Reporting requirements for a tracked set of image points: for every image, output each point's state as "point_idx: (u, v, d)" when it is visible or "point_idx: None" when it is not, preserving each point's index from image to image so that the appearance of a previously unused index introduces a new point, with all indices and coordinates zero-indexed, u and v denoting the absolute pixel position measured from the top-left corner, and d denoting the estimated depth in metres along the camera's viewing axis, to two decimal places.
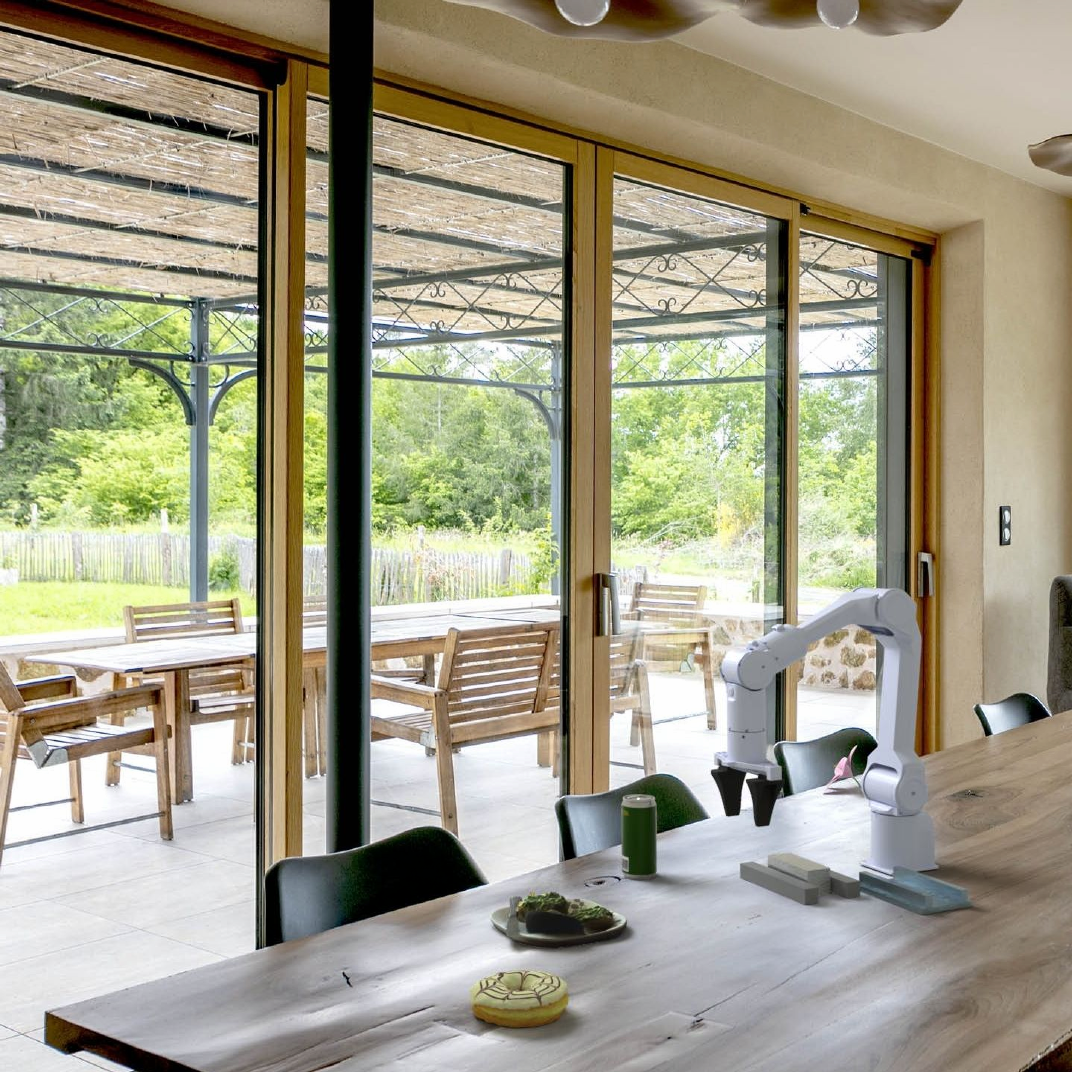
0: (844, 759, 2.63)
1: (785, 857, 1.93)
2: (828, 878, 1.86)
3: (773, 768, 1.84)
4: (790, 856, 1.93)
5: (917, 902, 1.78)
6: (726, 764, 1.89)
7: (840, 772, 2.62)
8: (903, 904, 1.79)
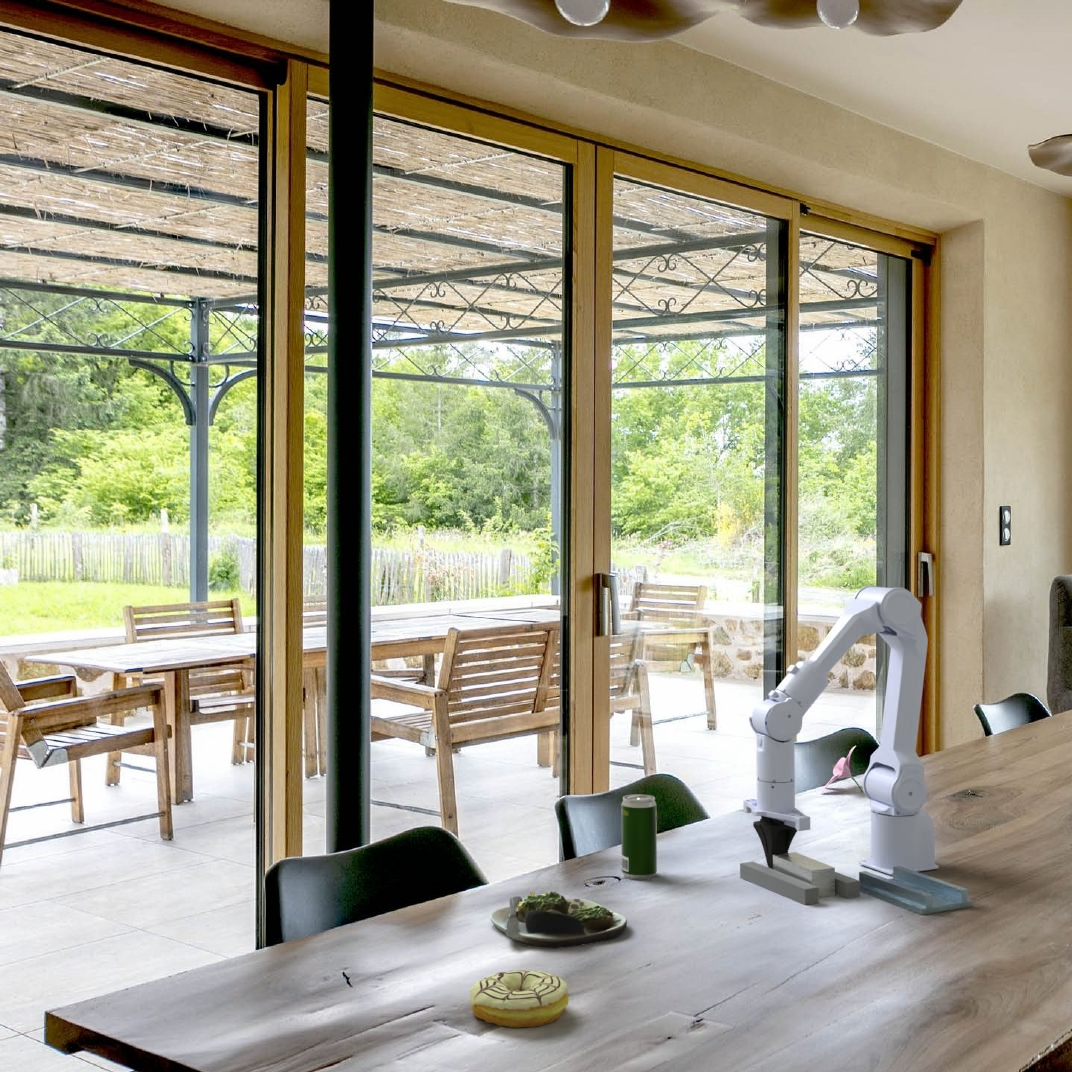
0: (843, 759, 2.63)
1: (790, 857, 1.92)
2: (833, 878, 1.85)
3: (802, 819, 1.88)
4: (795, 856, 1.92)
5: (917, 902, 1.78)
6: (756, 813, 1.93)
7: (839, 772, 2.61)
8: (903, 904, 1.79)
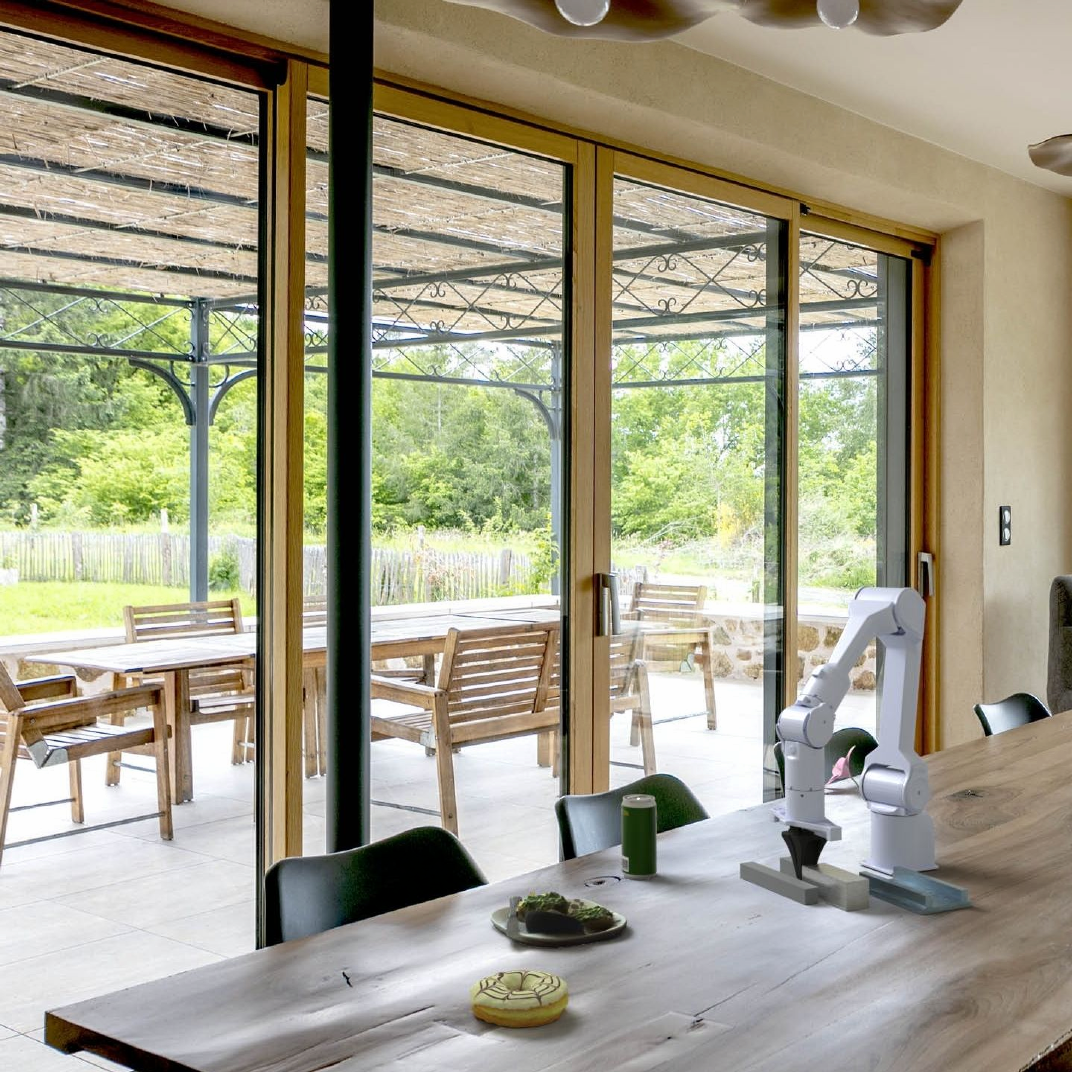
0: (842, 759, 2.63)
1: (820, 867, 1.85)
2: (867, 890, 1.79)
3: (833, 829, 1.82)
4: (825, 866, 1.86)
5: (917, 902, 1.78)
6: (784, 823, 1.86)
7: (838, 772, 2.61)
8: (903, 904, 1.79)
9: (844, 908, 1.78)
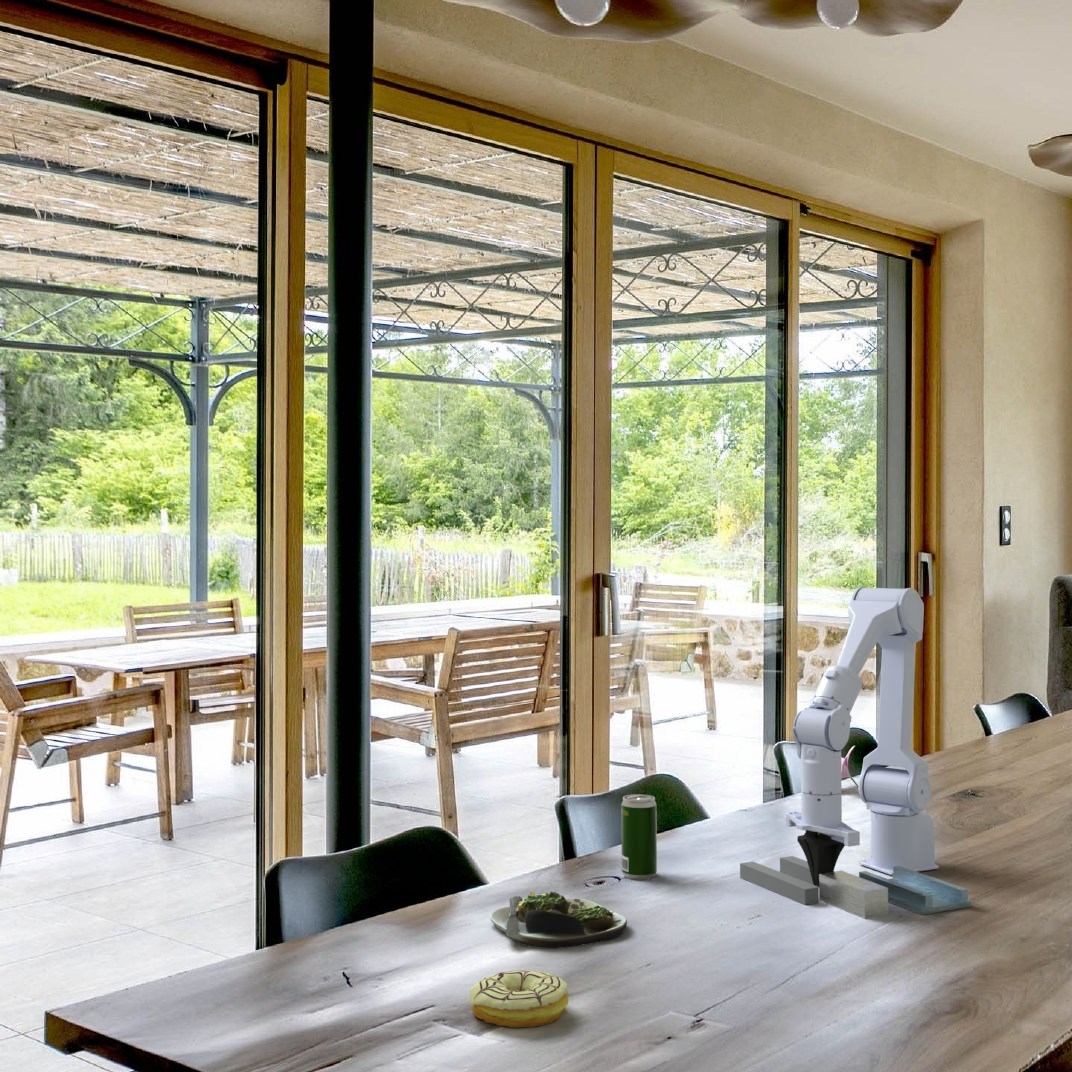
0: (841, 759, 2.63)
1: (838, 876, 1.82)
2: (886, 899, 1.76)
3: (851, 833, 1.78)
4: (843, 875, 1.83)
5: (917, 902, 1.78)
6: (801, 828, 1.83)
7: None
8: (903, 904, 1.79)
9: (862, 917, 1.75)
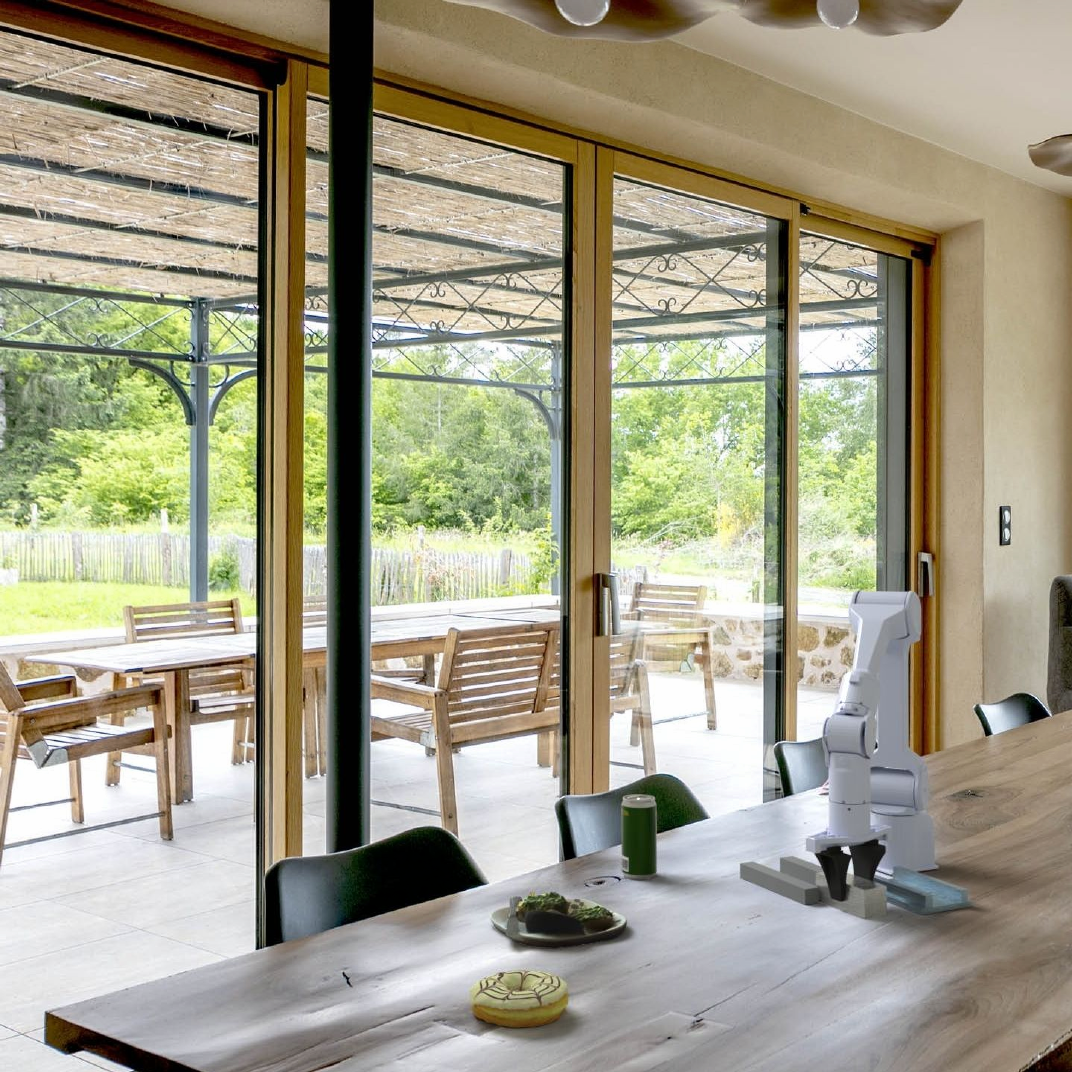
0: None
1: None
2: (884, 897, 1.76)
3: (808, 838, 1.76)
4: None
5: (917, 902, 1.78)
6: None
7: None
8: (903, 904, 1.79)
9: (862, 916, 1.74)
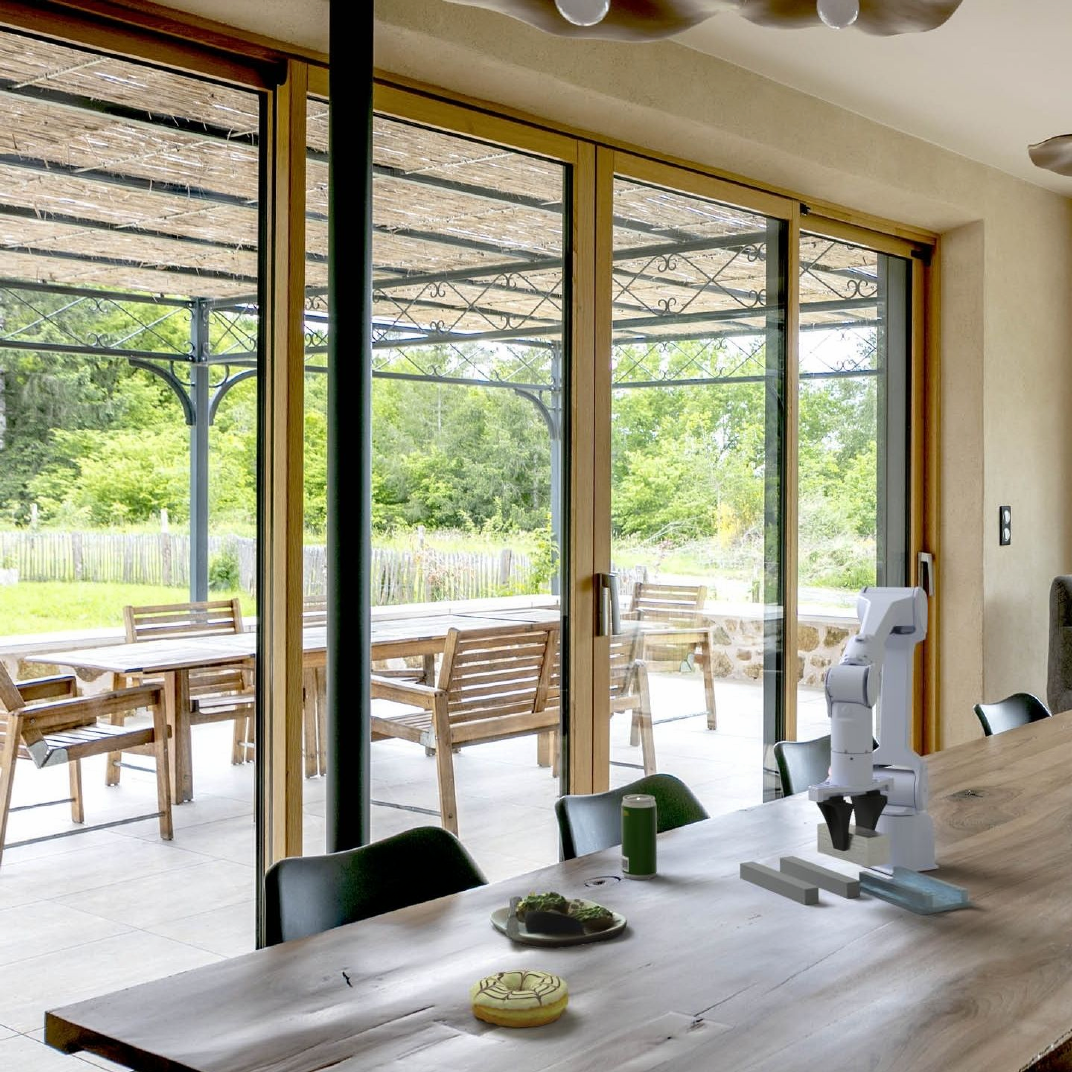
0: None
1: None
2: (887, 845, 1.76)
3: (810, 788, 1.76)
4: None
5: (917, 902, 1.78)
6: (829, 780, 1.83)
7: None
8: (903, 904, 1.79)
9: (865, 864, 1.75)
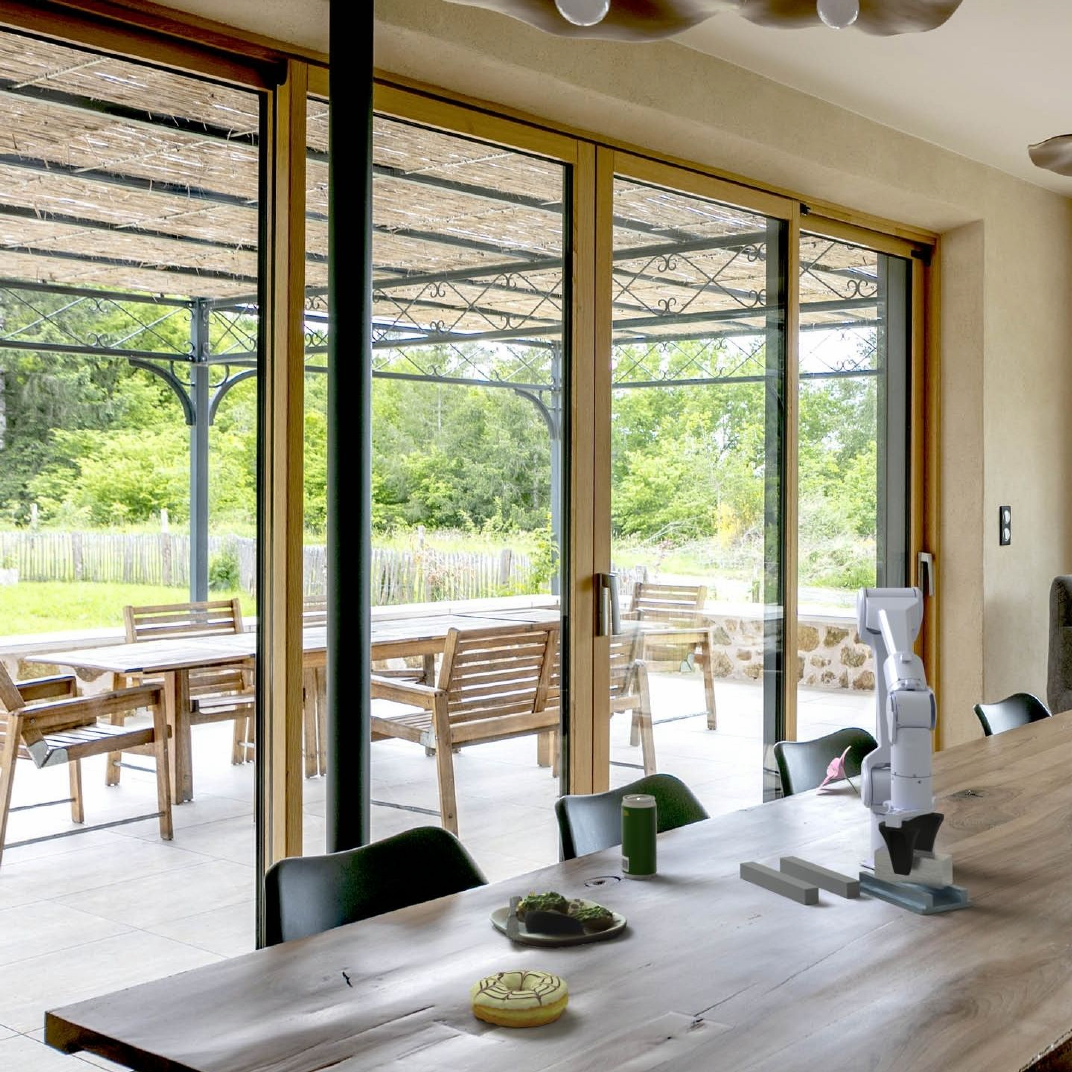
0: (836, 760, 2.62)
1: None
2: (951, 866, 1.82)
3: (888, 814, 1.79)
4: None
5: (917, 902, 1.78)
6: None
7: (833, 773, 2.61)
8: (903, 904, 1.79)
9: (939, 886, 1.80)
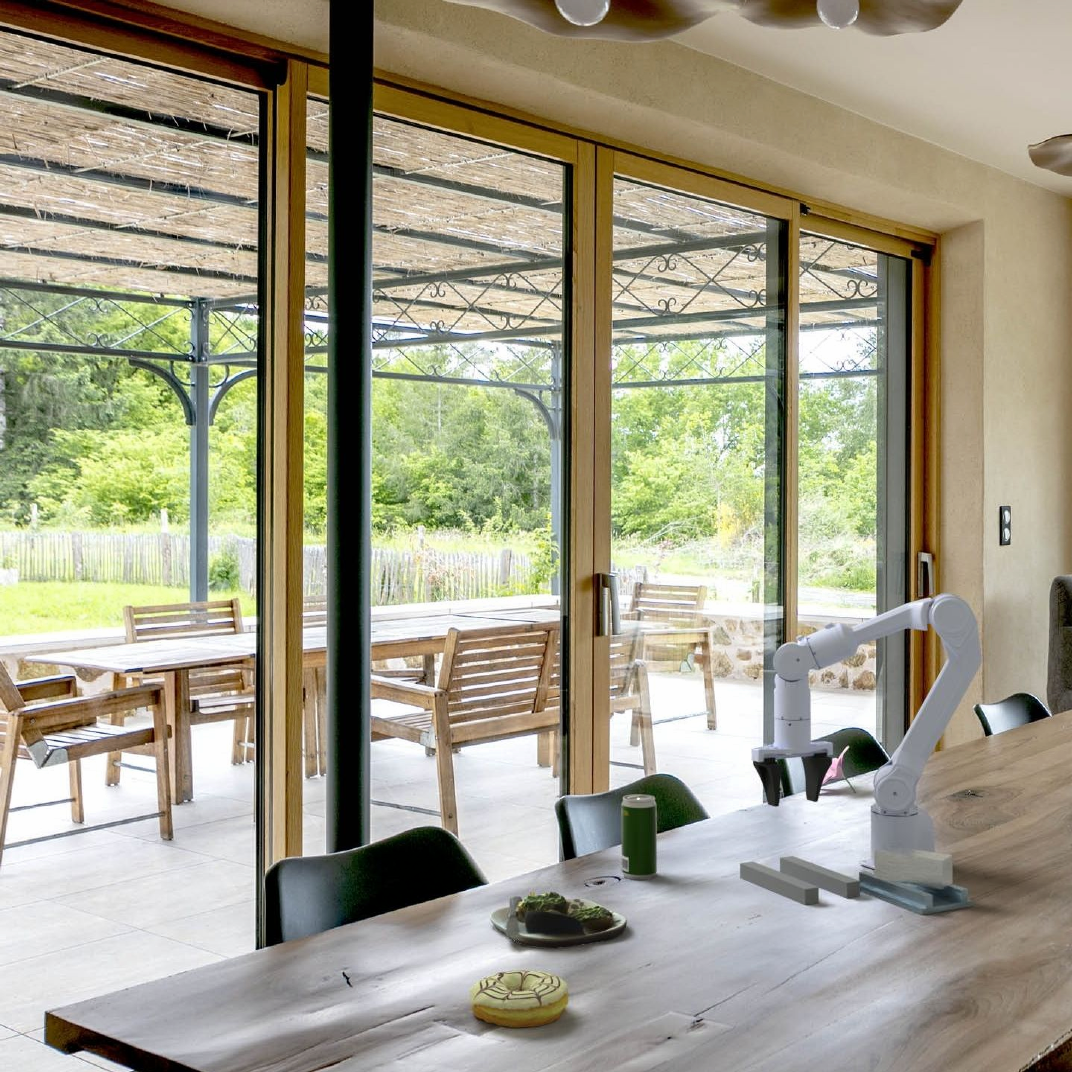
0: (834, 760, 2.62)
1: (893, 850, 1.85)
2: (951, 866, 1.82)
3: (753, 749, 2.02)
4: (895, 848, 1.86)
5: (917, 902, 1.78)
6: None
7: (831, 773, 2.61)
8: (903, 904, 1.79)
9: (939, 886, 1.80)
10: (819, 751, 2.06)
